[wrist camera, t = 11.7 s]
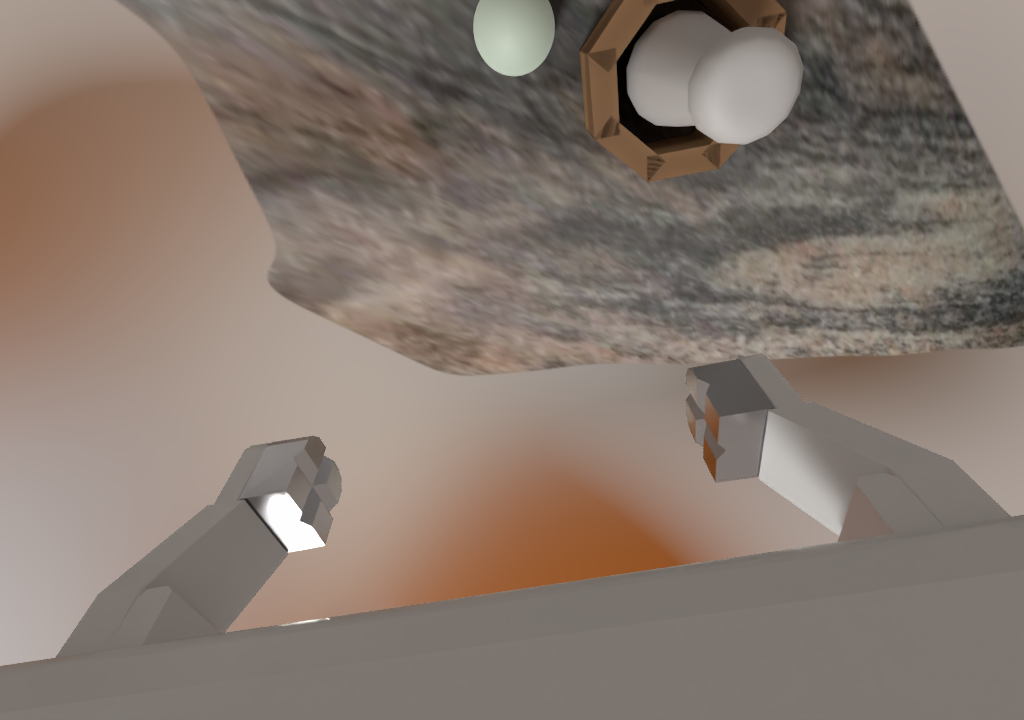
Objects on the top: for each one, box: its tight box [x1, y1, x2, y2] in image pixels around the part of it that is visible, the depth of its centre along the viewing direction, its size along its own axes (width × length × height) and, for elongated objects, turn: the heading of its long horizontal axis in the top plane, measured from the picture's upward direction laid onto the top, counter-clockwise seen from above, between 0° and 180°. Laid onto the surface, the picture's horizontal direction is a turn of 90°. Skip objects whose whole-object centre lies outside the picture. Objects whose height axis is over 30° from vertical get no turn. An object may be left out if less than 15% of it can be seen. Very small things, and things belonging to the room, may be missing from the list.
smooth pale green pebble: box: [473, 0, 555, 76], centre depth 28 cm, size 4×4×3 cm
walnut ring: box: [579, 0, 787, 182], centre depth 29 cm, size 10×10×4 cm
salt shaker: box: [626, 10, 804, 144], centre depth 25 cm, size 6×6×13 cm
